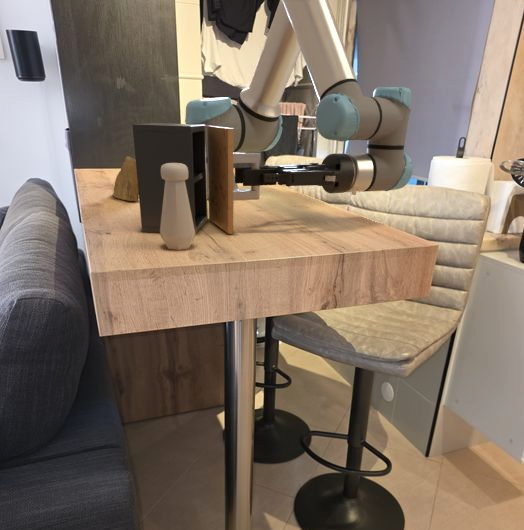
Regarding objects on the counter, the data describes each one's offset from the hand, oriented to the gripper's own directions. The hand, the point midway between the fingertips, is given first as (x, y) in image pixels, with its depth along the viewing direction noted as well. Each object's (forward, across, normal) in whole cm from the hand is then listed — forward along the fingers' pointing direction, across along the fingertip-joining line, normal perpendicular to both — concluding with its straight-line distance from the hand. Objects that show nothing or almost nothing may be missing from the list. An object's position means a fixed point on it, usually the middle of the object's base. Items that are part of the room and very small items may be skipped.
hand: (239, 176), depth 83 cm
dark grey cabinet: (+10, +8, -10) cm, 16 cm away
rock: (+13, +41, -10) cm, 44 cm away
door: (-1, +4, -10) cm, 11 cm away
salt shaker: (+14, -7, -10) cm, 19 cm away
